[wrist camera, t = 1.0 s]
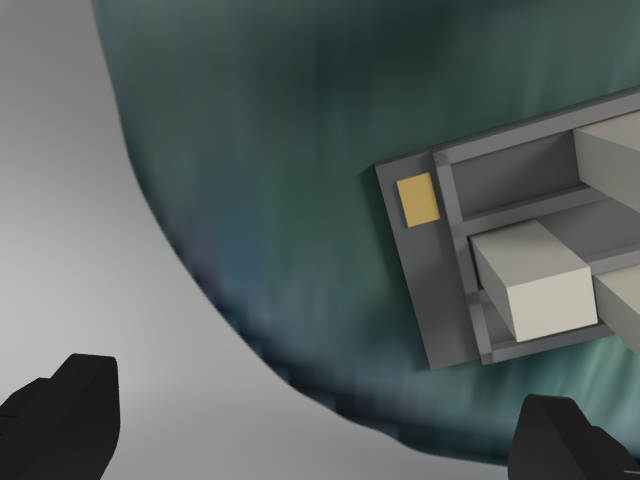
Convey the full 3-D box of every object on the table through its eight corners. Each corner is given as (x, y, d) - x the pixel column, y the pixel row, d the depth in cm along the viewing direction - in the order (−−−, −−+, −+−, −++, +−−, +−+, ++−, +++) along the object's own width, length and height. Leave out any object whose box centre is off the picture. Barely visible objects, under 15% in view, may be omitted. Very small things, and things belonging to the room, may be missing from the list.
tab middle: (533, 218, 32) (589, 266, 25) (541, 263, 33) (597, 322, 26) (469, 235, 32) (506, 287, 25) (479, 280, 33) (517, 342, 26)
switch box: (713, 62, 29) (736, 64, 28) (724, 290, 34) (744, 303, 33) (373, 163, 32) (375, 169, 30) (428, 362, 37) (433, 377, 35)
